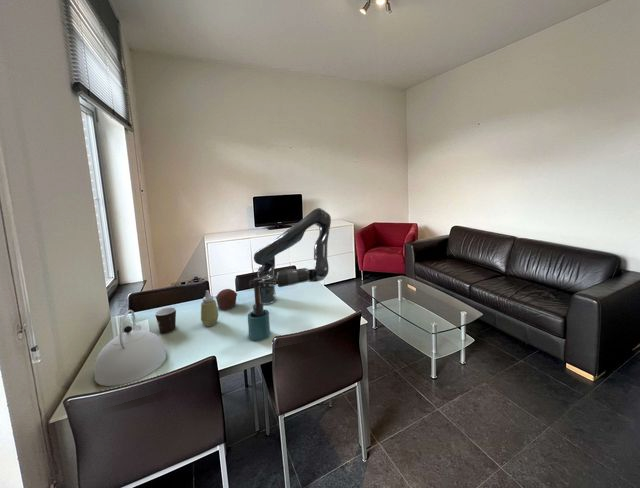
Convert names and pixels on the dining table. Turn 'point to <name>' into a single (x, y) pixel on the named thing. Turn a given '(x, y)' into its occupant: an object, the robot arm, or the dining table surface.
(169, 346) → the dining table surface
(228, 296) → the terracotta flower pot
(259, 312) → the dowel
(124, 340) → the kettle
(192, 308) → the dining table surface
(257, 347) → the dining table surface
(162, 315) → the coffee mug
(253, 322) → the jar
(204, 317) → the squeeze bottle
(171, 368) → the dining table surface
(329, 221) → the robot arm
